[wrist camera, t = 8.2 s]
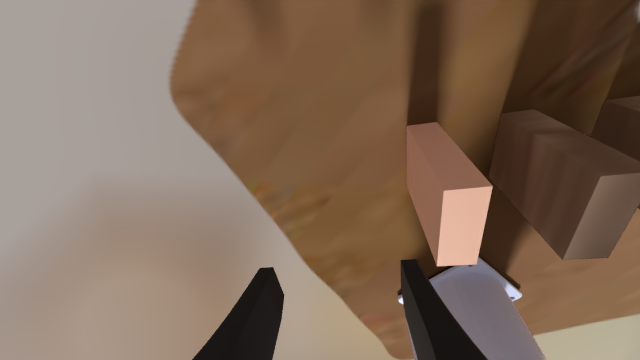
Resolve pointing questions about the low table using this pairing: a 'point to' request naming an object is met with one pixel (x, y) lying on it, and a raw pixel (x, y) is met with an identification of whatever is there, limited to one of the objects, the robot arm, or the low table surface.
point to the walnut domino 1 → (565, 183)
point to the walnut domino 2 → (620, 126)
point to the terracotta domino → (446, 195)
